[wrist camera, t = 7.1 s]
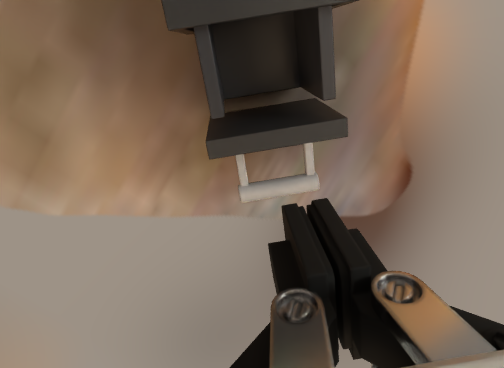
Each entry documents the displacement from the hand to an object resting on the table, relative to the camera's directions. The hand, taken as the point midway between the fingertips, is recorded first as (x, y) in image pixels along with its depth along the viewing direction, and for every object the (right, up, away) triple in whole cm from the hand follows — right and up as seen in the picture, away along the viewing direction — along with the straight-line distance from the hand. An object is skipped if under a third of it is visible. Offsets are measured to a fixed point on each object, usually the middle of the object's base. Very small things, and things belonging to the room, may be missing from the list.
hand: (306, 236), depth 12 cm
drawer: (-2, +11, +14) cm, 17 cm away
